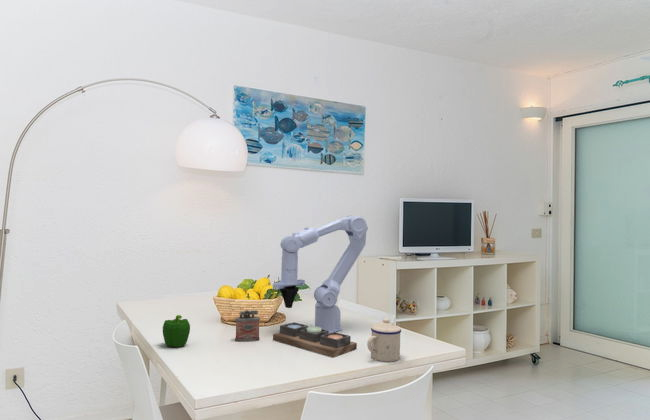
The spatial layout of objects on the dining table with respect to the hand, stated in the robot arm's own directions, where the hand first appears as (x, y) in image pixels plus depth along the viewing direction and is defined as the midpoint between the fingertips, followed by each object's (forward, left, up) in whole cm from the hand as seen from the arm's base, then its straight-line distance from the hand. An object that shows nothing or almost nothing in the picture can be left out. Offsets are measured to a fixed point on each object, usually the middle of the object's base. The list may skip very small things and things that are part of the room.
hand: (288, 307), depth 170 cm
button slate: (+5, +7, -6) cm, 11 cm away
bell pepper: (+37, -14, -9) cm, 40 cm away
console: (+5, +16, -9) cm, 19 cm away
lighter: (+17, -3, -9) cm, 19 cm away
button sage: (+5, +16, -5) cm, 18 cm away
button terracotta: (+5, +25, -6) cm, 27 cm away
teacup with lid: (+1, +40, -9) cm, 41 cm away
